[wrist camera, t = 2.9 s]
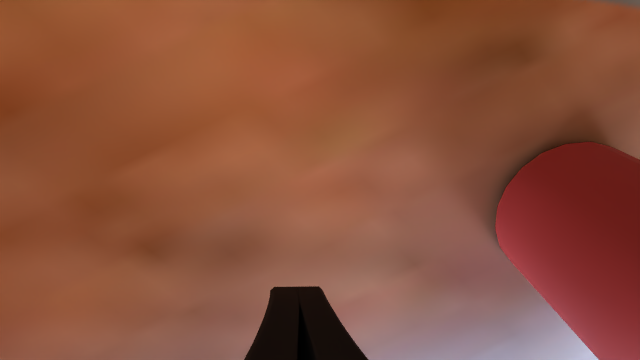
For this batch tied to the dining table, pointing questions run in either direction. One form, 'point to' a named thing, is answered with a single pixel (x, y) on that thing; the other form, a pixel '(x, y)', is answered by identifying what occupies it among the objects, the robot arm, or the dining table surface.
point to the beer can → (580, 241)
